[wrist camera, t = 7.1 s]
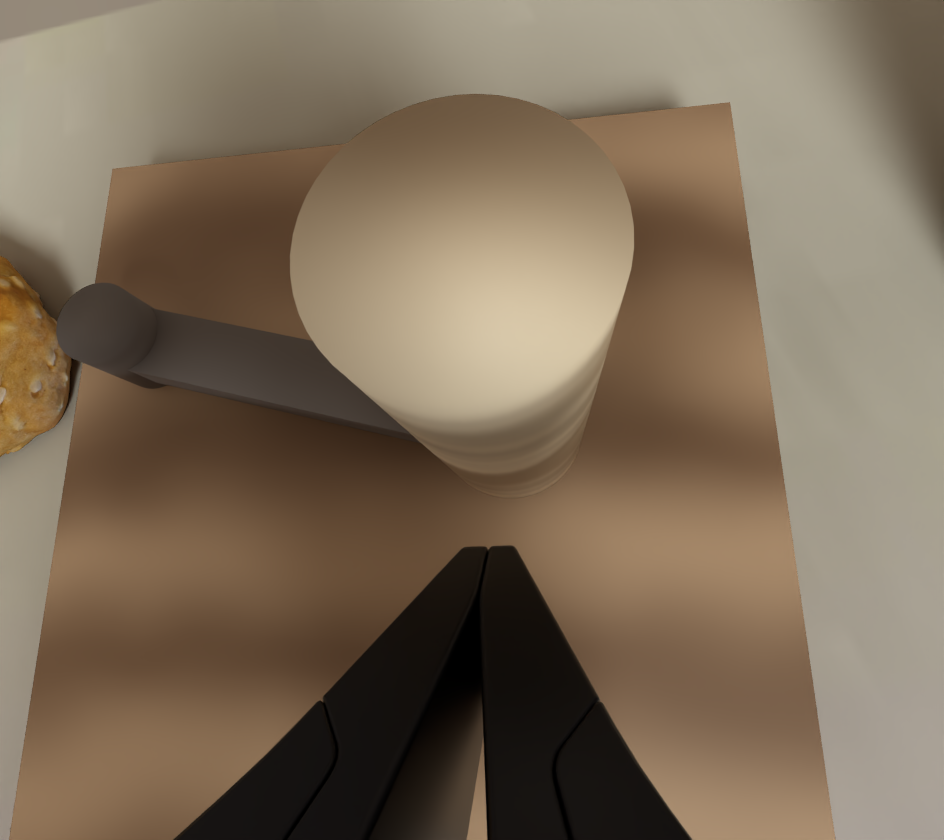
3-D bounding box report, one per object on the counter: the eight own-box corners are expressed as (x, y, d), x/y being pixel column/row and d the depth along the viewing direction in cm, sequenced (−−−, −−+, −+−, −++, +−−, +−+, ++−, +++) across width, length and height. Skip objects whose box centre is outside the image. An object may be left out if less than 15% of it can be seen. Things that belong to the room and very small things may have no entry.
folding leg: (564, 514, 16) (593, 445, 6) (104, 403, 19) (-420, 224, 8) (593, 380, 17) (664, 112, 7) (148, 293, 19) (-285, 9, 9)
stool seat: (790, 830, 16) (849, 897, 13) (91, 800, 19) (-2, 850, 16) (705, 163, 21) (732, 95, 18) (165, 215, 24) (106, 163, 21)
